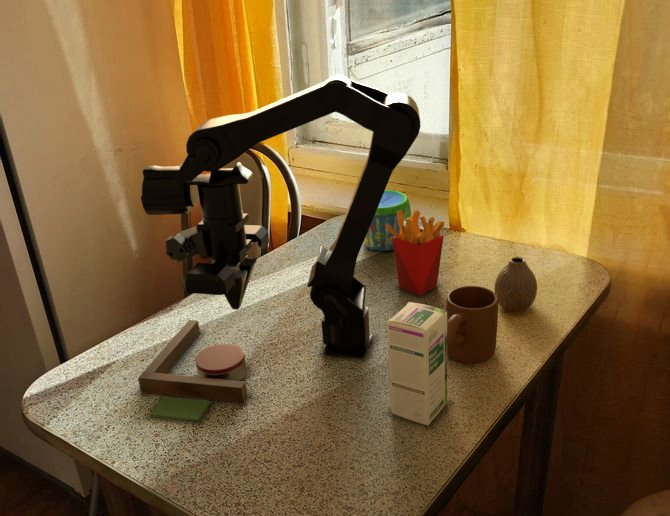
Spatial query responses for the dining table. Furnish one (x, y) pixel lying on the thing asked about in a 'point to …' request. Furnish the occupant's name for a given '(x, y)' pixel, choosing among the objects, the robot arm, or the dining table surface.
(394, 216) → the snack cup
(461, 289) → the mug
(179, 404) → the green rag
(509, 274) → the vase
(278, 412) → the dining table surface
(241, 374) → the tin
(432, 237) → the french fries
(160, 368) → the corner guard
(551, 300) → the dining table surface
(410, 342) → the syrup box
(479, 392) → the dining table surface
